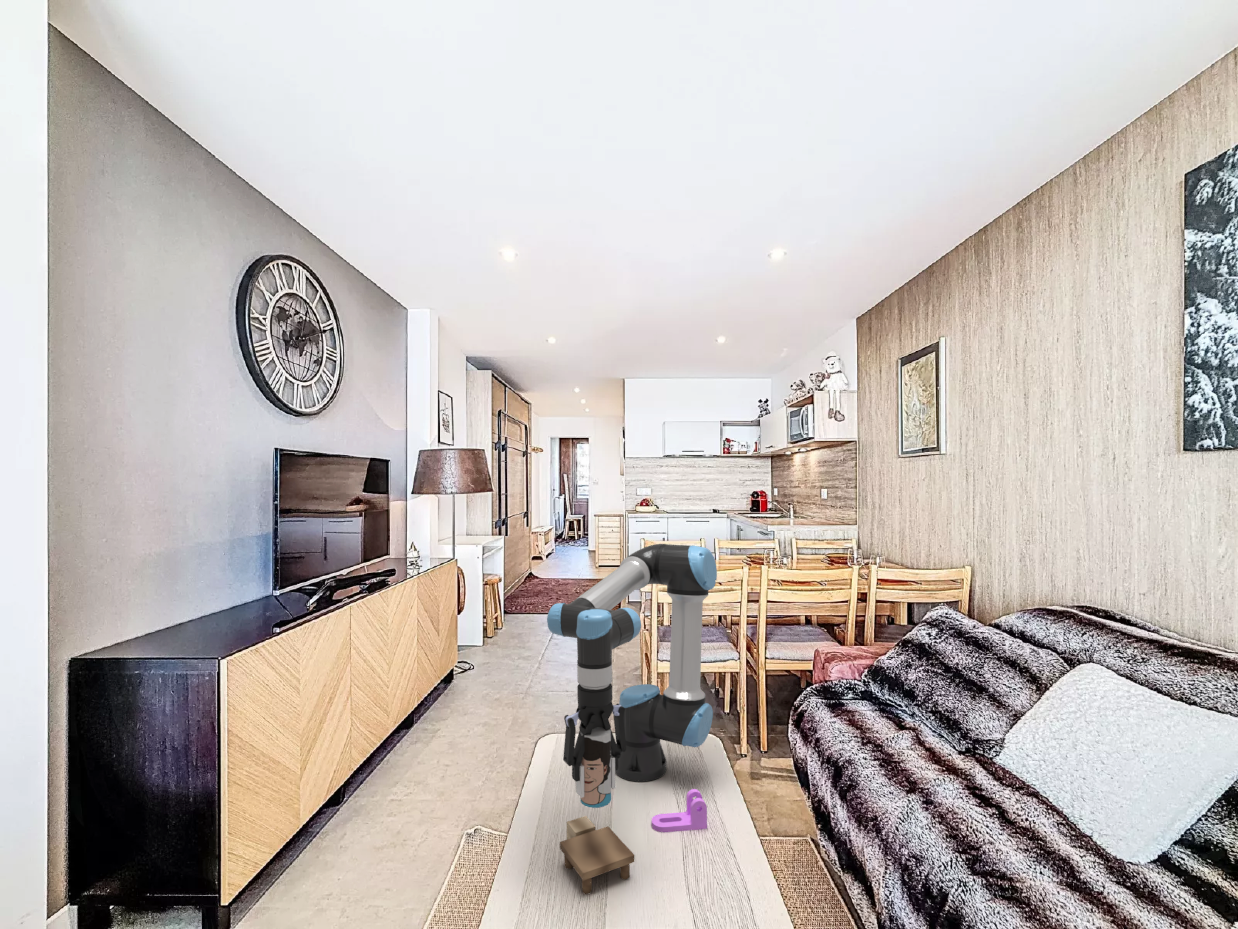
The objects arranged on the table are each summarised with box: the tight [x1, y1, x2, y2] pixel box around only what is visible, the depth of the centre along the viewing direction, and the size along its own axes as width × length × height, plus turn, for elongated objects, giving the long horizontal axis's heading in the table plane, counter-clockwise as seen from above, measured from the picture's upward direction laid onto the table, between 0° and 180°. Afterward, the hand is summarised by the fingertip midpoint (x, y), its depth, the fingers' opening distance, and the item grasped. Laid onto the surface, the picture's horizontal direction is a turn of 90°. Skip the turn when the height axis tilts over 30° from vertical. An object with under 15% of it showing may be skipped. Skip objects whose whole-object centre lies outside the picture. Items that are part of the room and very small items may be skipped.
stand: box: [559, 825, 635, 895], centre depth 135 cm, size 12×12×5 cm
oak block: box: [566, 815, 596, 840], centre depth 144 cm, size 5×5×5 cm
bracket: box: [651, 788, 708, 833], centre depth 152 cm, size 13×6×7 cm, turn 97°
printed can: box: [579, 727, 612, 809], centre depth 135 cm, size 7×7×15 cm
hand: (595, 789), depth 135 cm, fingers closed on printed can, 7 cm apart
